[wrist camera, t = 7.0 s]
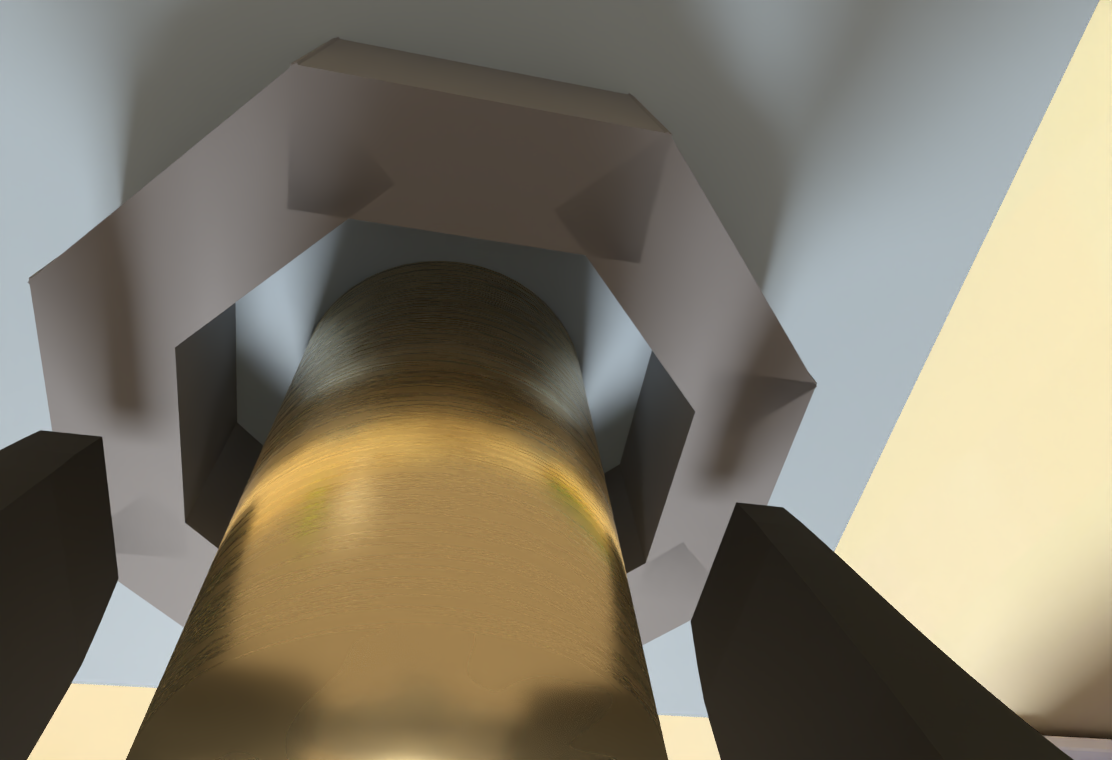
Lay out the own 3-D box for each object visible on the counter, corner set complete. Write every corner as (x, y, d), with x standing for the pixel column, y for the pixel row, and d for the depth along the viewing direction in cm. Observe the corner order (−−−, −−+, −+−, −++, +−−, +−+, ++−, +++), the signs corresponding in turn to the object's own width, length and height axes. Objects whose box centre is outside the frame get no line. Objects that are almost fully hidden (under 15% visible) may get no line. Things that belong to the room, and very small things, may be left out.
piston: (607, 283, 12) (737, 648, 6) (554, 509, 14) (607, 948, 8) (306, 239, 11) (88, 606, 5) (300, 486, 13) (142, 948, 7)
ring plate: (1084, -78, 11) (1321, -87, 8) (740, 683, 18) (791, 829, 15) (-214, -412, 8) (-635, -629, 5) (14, 637, 16) (-99, 803, 13)
